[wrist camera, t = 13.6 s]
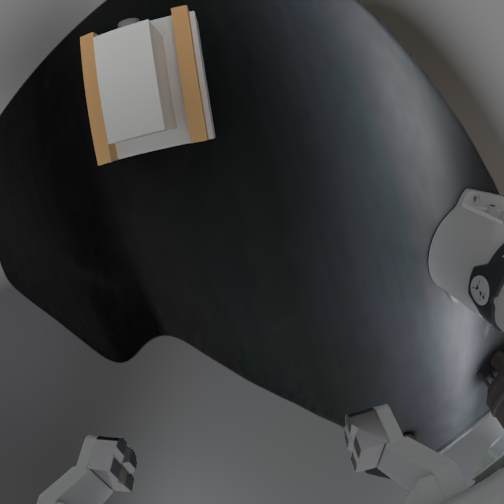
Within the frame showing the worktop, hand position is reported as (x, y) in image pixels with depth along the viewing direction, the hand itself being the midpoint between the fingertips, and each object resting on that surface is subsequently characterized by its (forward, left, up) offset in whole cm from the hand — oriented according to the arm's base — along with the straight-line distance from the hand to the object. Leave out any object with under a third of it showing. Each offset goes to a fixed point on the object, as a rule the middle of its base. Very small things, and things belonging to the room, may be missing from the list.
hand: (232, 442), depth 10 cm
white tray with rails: (+6, -16, -29) cm, 33 cm away
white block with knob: (+6, -16, -25) cm, 30 cm away
